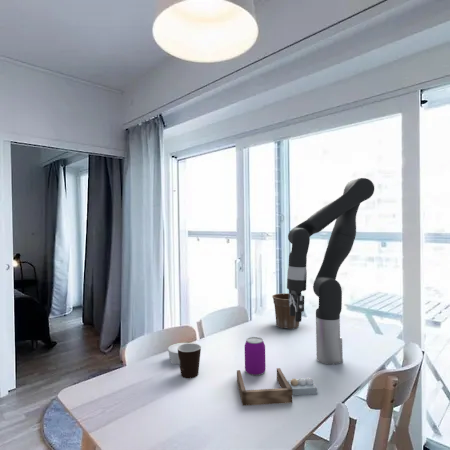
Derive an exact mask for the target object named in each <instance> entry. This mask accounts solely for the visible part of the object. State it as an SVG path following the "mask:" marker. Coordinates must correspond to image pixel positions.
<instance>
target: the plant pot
mask: <svg viewBox="0 0 450 450" xmlns="http://www.w3.org/2000/svg"><path fill="white" fill-rule="evenodd" d="M271 297H272V299H273V304H274V312H275V325H276V326H277V328H281V329H289V330H294V329H297V327H298V328H299V326H300V322H296V321H295V316H290V306H289V303H288V298H289V292H288V293H286V292H285V293H275V294H272V296H271ZM299 308H300V307H299ZM295 313H296V311H295ZM293 328H294V329H293Z"/></svg>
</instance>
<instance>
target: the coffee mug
mask: <svg viewBox="0 0 450 450" xmlns="http://www.w3.org/2000/svg"><path fill="white" fill-rule="evenodd" d="M186 343H187V344H182V345H180V346H179V347H178V356H179V364H180V365H179V371H180V376H181V377H182V378H183V379H189V380H190V379H194V378H196V377H198V375H199V371H200V362H201V361H200V359H201V350H202V346H201V345H200V344H198V343H193V342H191V343H189V342H186Z"/></svg>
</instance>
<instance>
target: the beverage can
mask: <svg viewBox="0 0 450 450" xmlns="http://www.w3.org/2000/svg"><path fill="white" fill-rule="evenodd" d="M266 367H267V366H266V345H265V342H264V339H263V338H261V337H258V336H249V337H248V338H246V340H245V343H244V370H245V372H246V373H247V374H248V375H250V376H253V377H254V376H255V377H256V376H261V375H263V374H264V373H265V372H266Z"/></svg>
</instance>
